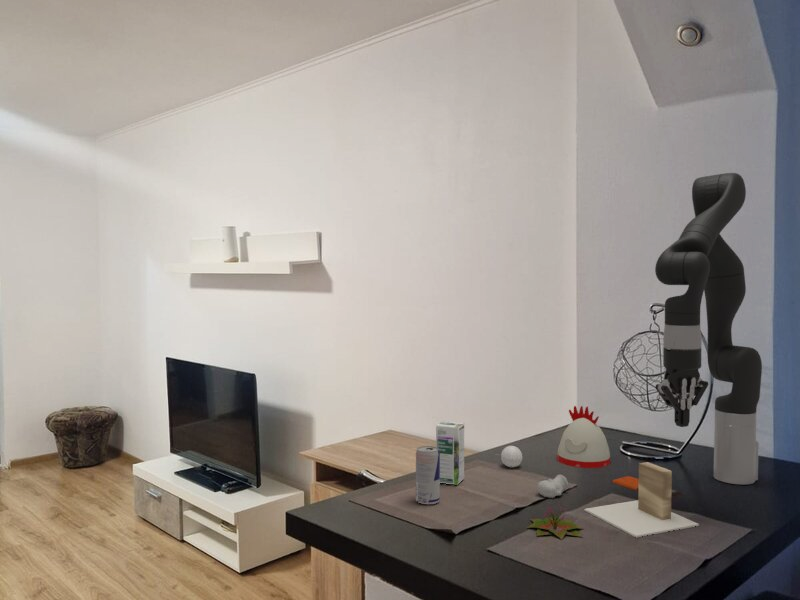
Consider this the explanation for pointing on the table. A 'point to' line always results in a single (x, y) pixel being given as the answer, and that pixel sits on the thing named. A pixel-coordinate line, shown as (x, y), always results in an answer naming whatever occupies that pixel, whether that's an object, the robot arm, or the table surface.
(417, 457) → the energy drink
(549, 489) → the smooth white sculpture
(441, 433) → the syrup box
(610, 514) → the mat
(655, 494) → the slab
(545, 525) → the lily flower
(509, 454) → the seamed sphere
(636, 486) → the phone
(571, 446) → the kitchen timer
